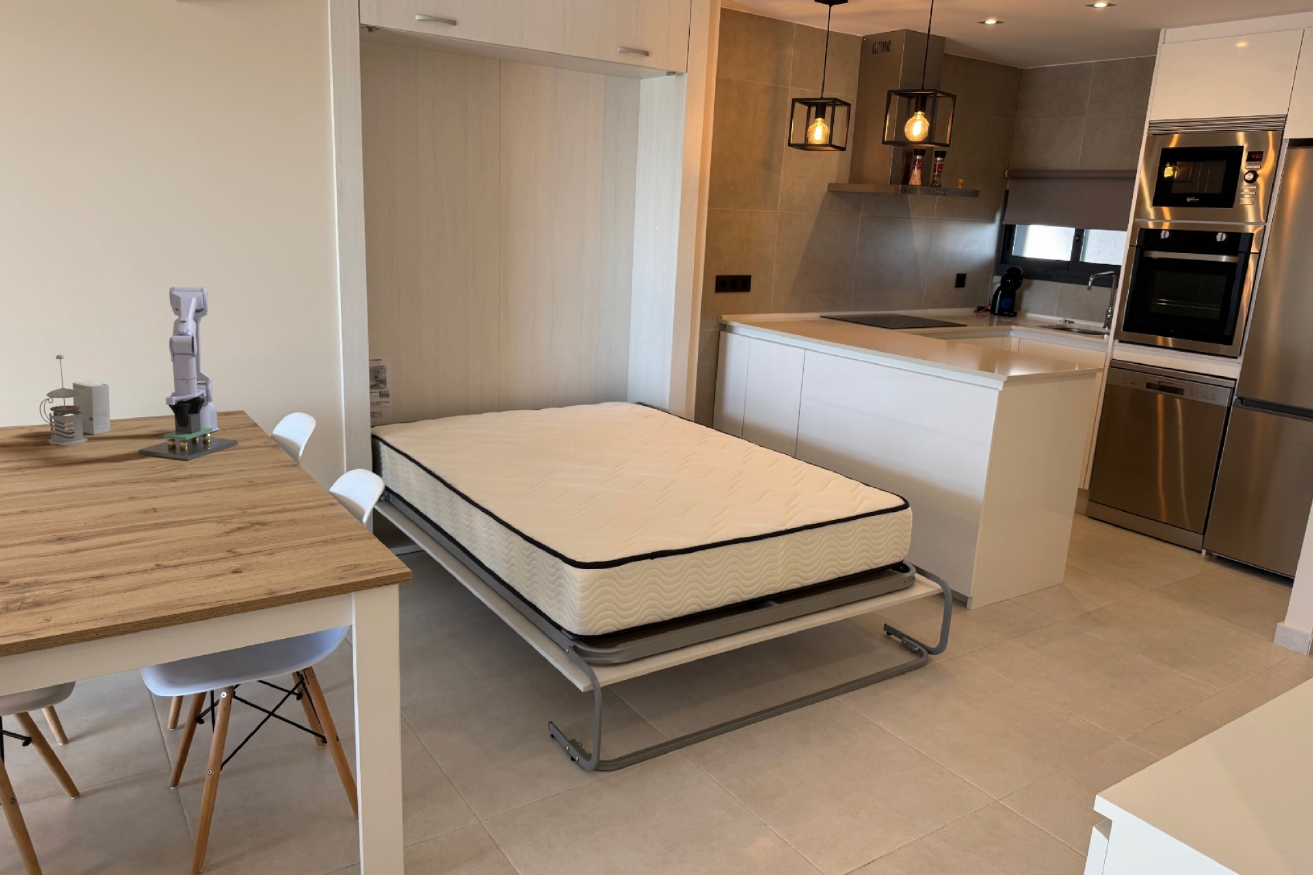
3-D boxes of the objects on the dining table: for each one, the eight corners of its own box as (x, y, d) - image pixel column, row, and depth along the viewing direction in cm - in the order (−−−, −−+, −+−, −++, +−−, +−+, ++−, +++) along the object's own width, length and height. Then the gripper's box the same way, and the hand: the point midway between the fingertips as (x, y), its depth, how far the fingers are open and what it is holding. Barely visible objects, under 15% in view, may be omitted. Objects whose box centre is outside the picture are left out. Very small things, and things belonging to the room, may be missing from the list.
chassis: (191, 438, 268) (190, 426, 267) (237, 444, 265) (237, 432, 264) (138, 453, 249) (137, 440, 248) (188, 460, 246) (187, 447, 245)
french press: (73, 445, 253) (65, 358, 248) (32, 443, 254) (23, 355, 248) (95, 438, 263) (88, 353, 257) (56, 435, 263) (47, 350, 257)
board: (190, 428, 262) (189, 409, 261) (212, 430, 261) (211, 411, 260) (162, 437, 251) (161, 417, 249) (185, 440, 250) (184, 419, 248)
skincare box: (74, 431, 269) (69, 382, 265) (92, 427, 274) (88, 379, 271) (94, 435, 266) (90, 385, 263) (113, 431, 272) (109, 382, 268)
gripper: (188, 373, 260) (191, 418, 263) (154, 381, 246) (158, 429, 249) (211, 375, 259) (214, 420, 262) (178, 383, 245) (181, 431, 248)
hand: (188, 425), depth 255 cm, fingers closed on board, 4 cm apart
